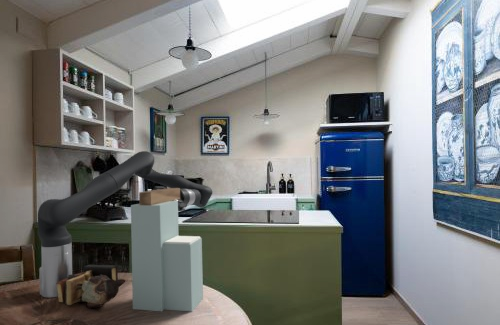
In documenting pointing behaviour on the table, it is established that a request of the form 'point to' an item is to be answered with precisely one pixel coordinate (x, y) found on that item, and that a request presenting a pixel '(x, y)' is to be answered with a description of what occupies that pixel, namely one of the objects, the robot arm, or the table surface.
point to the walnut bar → (159, 196)
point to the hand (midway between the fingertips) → (158, 199)
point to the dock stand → (164, 260)
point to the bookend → (90, 286)
